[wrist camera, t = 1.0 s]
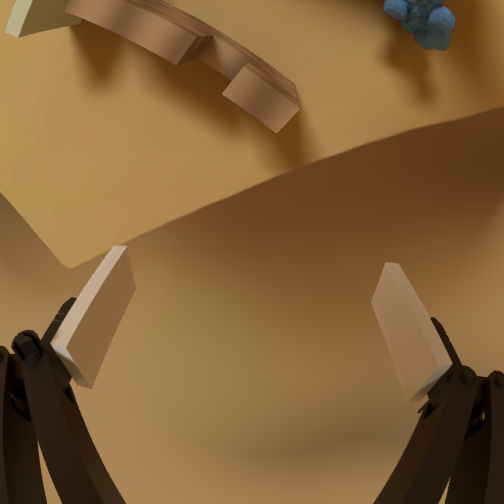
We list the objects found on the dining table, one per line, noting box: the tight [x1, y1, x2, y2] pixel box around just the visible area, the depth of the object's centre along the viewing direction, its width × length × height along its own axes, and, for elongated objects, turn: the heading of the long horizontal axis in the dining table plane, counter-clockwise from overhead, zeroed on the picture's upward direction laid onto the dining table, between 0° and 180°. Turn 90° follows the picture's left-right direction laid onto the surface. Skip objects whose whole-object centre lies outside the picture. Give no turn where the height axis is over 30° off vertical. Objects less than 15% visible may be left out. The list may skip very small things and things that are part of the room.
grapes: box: [383, 0, 456, 51], centre depth 16 cm, size 12×7×12 cm, turn 31°
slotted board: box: [65, 0, 300, 134], centre depth 22 cm, size 24×3×12 cm, turn 52°
